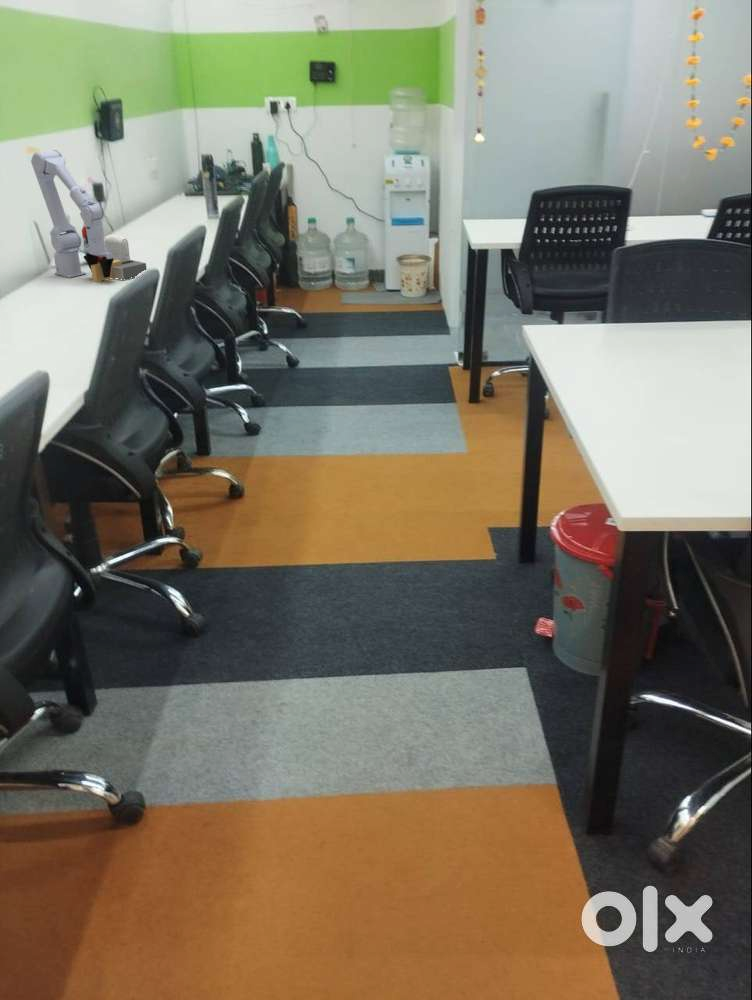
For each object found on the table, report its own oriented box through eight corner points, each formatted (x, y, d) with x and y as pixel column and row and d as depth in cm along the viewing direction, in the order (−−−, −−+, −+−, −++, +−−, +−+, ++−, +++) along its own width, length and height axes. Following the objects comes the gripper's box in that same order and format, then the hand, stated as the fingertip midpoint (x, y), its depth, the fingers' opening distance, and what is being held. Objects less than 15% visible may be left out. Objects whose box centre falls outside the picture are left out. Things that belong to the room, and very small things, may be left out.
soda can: (109, 261, 345) (104, 223, 338) (102, 265, 338) (96, 227, 331) (91, 260, 346) (85, 223, 339) (83, 265, 339) (77, 226, 332)
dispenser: (100, 275, 324) (99, 263, 322) (125, 269, 332) (123, 258, 330) (122, 280, 317) (121, 268, 315) (147, 275, 325) (145, 263, 323)
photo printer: (132, 267, 336) (128, 235, 331) (125, 269, 333) (120, 237, 327) (113, 264, 341) (109, 232, 335) (106, 266, 338) (101, 234, 332)
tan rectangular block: (93, 281, 316) (90, 265, 313) (119, 275, 324) (117, 259, 322) (97, 282, 315) (94, 266, 312) (123, 276, 323) (121, 260, 320)
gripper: (117, 239, 309) (122, 276, 316) (92, 234, 317) (98, 270, 323) (100, 242, 304) (106, 280, 311) (76, 237, 312) (82, 274, 318)
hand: (101, 275), depth 317 cm, fingers open, 7 cm apart
